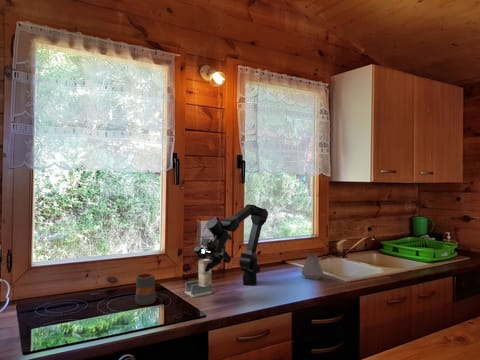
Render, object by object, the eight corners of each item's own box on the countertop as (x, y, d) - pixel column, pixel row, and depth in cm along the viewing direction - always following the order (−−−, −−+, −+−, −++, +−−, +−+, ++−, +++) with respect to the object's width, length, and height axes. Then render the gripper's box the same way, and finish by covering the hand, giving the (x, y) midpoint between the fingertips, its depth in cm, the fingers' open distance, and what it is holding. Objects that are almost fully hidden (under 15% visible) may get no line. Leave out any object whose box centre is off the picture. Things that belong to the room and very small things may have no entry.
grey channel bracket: (203, 289, 183) (203, 278, 183) (211, 293, 176) (211, 282, 176) (184, 292, 177) (184, 282, 177) (192, 297, 171) (192, 286, 171)
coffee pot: (297, 276, 204) (297, 249, 204) (313, 274, 210) (313, 247, 210) (323, 286, 186) (323, 256, 186) (341, 283, 191) (341, 253, 191)
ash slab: (206, 283, 169) (206, 258, 169) (211, 284, 167) (211, 259, 167) (198, 285, 165) (198, 260, 165) (203, 286, 163) (203, 261, 163)
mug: (150, 296, 173) (150, 270, 173) (158, 303, 162) (158, 276, 162) (131, 299, 169) (131, 273, 168) (138, 307, 158) (137, 279, 158)
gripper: (195, 229, 175) (178, 257, 166) (226, 232, 163) (209, 263, 155) (207, 243, 181) (191, 271, 173) (238, 248, 169) (222, 278, 161)
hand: (202, 270), depth 165 cm, fingers closed on ash slab, 3 cm apart
